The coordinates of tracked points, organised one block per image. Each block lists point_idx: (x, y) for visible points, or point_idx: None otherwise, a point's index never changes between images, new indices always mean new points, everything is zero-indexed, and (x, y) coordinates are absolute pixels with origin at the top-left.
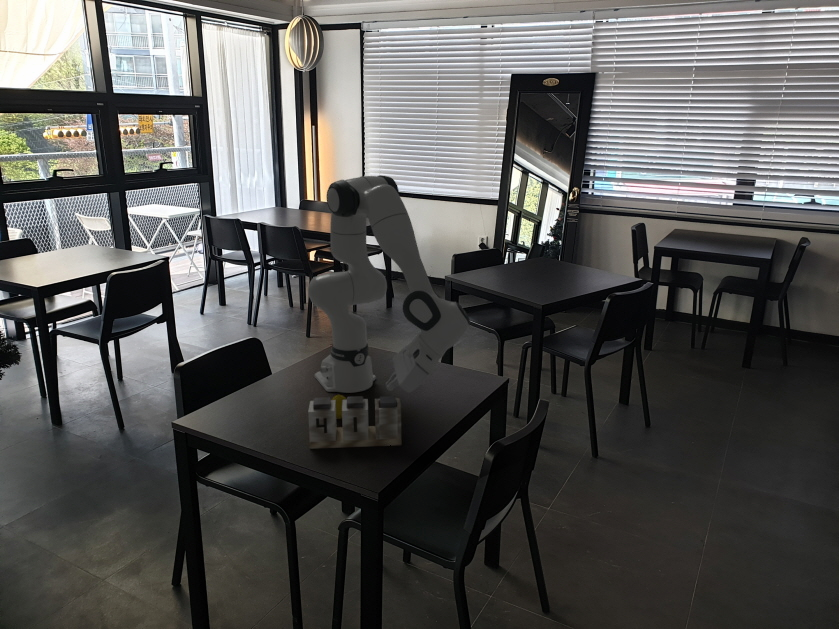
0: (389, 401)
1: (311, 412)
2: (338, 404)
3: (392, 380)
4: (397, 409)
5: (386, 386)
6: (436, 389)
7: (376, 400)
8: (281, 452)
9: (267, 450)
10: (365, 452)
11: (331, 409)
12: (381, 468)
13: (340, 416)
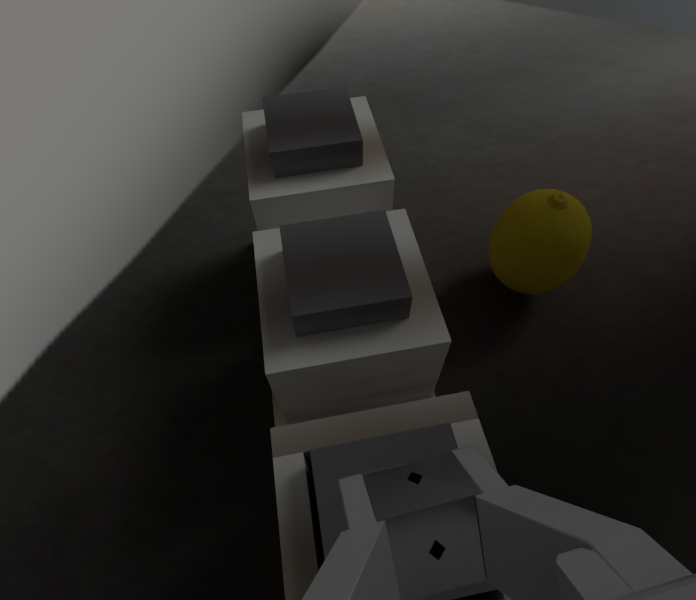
0: None
1: (244, 125)
2: (507, 228)
3: (503, 545)
4: None
5: (360, 474)
6: None
7: (439, 408)
8: (236, 176)
9: None
10: (223, 449)
11: (269, 185)
12: (53, 564)
13: (495, 274)
